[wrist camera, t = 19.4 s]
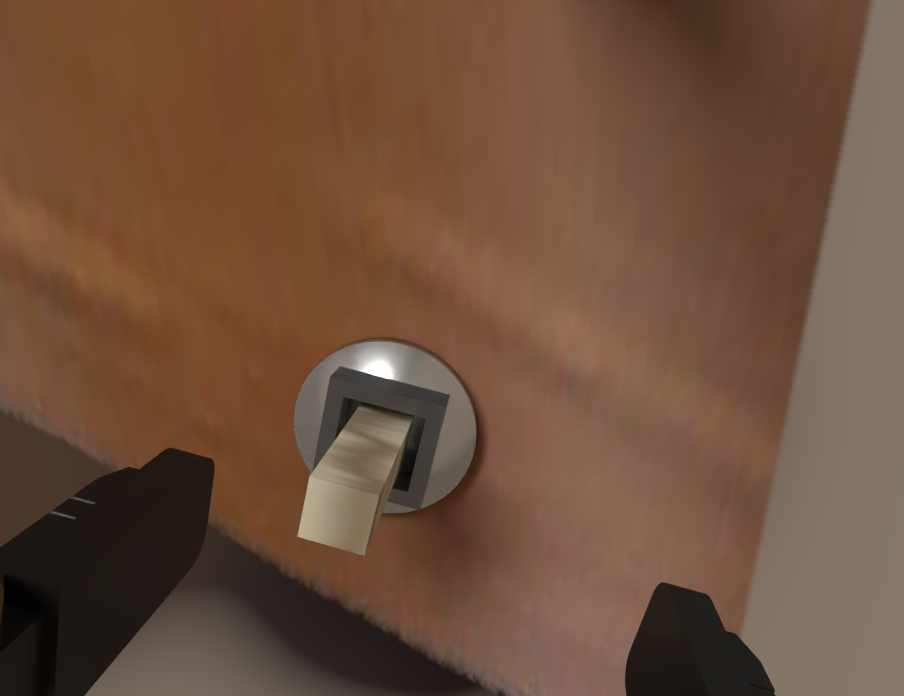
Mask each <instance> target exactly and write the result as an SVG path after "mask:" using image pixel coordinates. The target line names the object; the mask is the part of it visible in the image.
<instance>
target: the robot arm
mask: <svg viewBox="0 0 904 696" xmlns="http://www.w3.org/2000/svg"><path fill="white" fill-rule="evenodd" d="M213 478H214V462H213V460H212V459H211V458H207V457H204V456H200V455H196V454H192V453H189V452H185V451H181V450H178V449H174V448H168V449H166V450H164V451H163V452H161V453H160V454H159V455H158V456H156V457H155V458H154V459H152V460H151V461H150V462H148V463H147V464H146V465H144V466H143V467H142V468H141V469H135V468H132V467H128V468H125V469H122V470H119V471H116V472H114V473H111V474H108V475H105V476H102V477H100V478H97V479H96V480H94V481H93V482H92V483H90V484H89V485H87V486H86V487H85V488H83V489H82V490H81V491H79V492H78V493H76V494H75V495H74V496H73V498H72V499H68V500H66V501H65V502H64V503H62V504H61V505H59V506H58V507H56V508H55V509H54V510H53V512H52V514H47V515H45V516H44V517H42V518H41V519H40V520H38V521H37V522H36V523H34V524H33V525H31V526H30V527H28V528H27V529H25V530H24V531H23V532H21V533H20V534H19V535H17V536H16V537H14V538H13V539H12V540H10V541H9V542H7V543H6V544H4V545H3V546H2V547H0V696H84V695H85V694H86V693H87V692H88V690H89V689H90V688H91V687H92V686H93V685H94V683H95V682H96V681H97V680H98V679H99V677H100V676H101V675H102V674H103V673H104V671H105V670H106V669H107V668H108V667H109V666H110V664H111V663H112V662H113V661H114V660H115V658H116V657H117V656H118V655H119V654H120V652H121V651H122V650H123V649H124V648H125V647H126V645H127V644H128V643H129V642H130V641H131V639H132V638H133V637H134V636H135V635H136V633H137V632H138V631H139V630H140V628H141V627H142V626H143V625H144V624H145V623H146V622H147V620H148V619H149V618H150V617H151V616H152V614H153V613H154V612H155V611H156V610H157V608H158V607H159V606H160V605H161V604H162V603H163V601H164V600H165V599H166V598H167V596H168V595H169V594H170V593H171V591H173V589H174V588H175V587H176V586H177V585H178V584H179V582H180V581H181V580H182V579H183V578H184V576H185V575H186V574H187V573H188V571H189V570H190V569H191V568H192V566H193V565H194V563H195V561H196V560H197V558H198V556H199V554H200V551H201V549H202V546H203V543H204V540H205V536H206V531H207V523H208V516H209V508H210V501H211V493H212V486H213ZM625 687H626V695H627V696H775V695H774V691H775V690H774V688H773V686H772V684H771V682H770V680H769V678H768V676H767V674H766V672H765V670H764V668H763V666H762V664H761V662H760V661H759V659H758V658H757V657H756V656H755V655H754V654H753V653H752V652H751V650H750V649H749V648H748V647H747V646H746V645H745V644H744V643H743V641H742V640H741V639H740V638H739V637H738V636H737V635H736V634H735V633H731V632H728V631H725V628H724V626H723V624H722V622H721V620H720V618H719V615H718V613H717V611H716V609H715V607H714V604H713V602H712V600H711V598H710V597H709V596H708V595H707V594H705V593H701V592H697V591H694V590H690V589H686V588H682V587H679V586H675V585H671V584H668V583H663V582H662V583H660V584H659V585H658V586H657V587H656V589H655V590H654V593H653V595H652V597H651V600H650V602H649V605H648V607H647V610H646V612H645V615H644V617H643V620H642V622H641V625H640V627H639V629H638V632H637V634H636V637H635V639H634V642H633V644H632V647H631V649H630V652H629V655H628V659H627V664H626V673H625Z"/></svg>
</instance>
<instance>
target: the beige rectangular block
mask: <svg viewBox="0 0 904 696" xmlns="http://www.w3.org/2000/svg"><path fill="white" fill-rule="evenodd" d="M414 416H415V415H411V414H407V413H403V412H400V411H396V410H392V409H388V408H384V407H381V406H377V405H373V404H369V403H365V402H362V403H361V404H360V405H359V407H358V408H357V410H356V411H355V413H354V414H353V415H352V417H351V418H350V420H349V421H348V423H347V424H346V425H345V427H344V428H343V430H342V431H341V433H340V434H339V435H338V437H337V438H336V440H335V441H334V442H333V444H332V445H331V447H330V448H329V450H328V451H327V452H326V454H325V455H324V457H323V458H322V460H321V461H320V462H319V464H318V465H317V467H316V468H315V469H314V471H313V472H312V474H311V475H310V477H309V482H308V487H307V492H306V497H305V502H304V507H303V512H302V517H301V522H300V527H299V532H298V537H301V538H304V539H308V540H311V541H315V542H318V543H322V544H325V545H329V546H332V547H336V548H339V549H343V550H346V551H350V552H353V553H357V554H360V555H364V556H365V553H366V551H367V548H368V546H369V543H370V541H371V539H372V536H373V534H374V531H375V529H376V526H377V524H378V521H379V519H380V517H381V514H382V512H383V509H384V507H385V504H386V502H387V499H388V497H389V495H390V492H391V490H392V487H393V485H394V482H395V480H396V477H397V475H398V472H399V470H400V468H401V465H402V463H403V460H404V456H405V452H406V448H407V444H408V440H409V436H410V432H411V428H412V424H413V420H414Z"/></svg>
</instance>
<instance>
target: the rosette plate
mask: <svg viewBox="0 0 904 696" xmlns="http://www.w3.org/2000/svg"><path fill="white" fill-rule="evenodd" d="M362 402H365V403H369V404H373V405H377V406H381V407H384V408H388V409H392V410H396V411H400V412H403V413H407V414H411V415H415V416H414V420H413V424H412V428H411V432H410V436H409V440H408V444H407V448H406V452H405V456H404V460H403V463H402V465H401V468H400V470H399V472H398V475H397V477H396V480H395V482H394V485H393V487H392V490H391V492H390V495H389V497H388V499H387V502H386V504H385V507H384V509H383V512H382V513H405V512H411V511H415V510H421V509H422V508H425V507H427V506H429V505H432V504H434V503H435V502H437V501H439V500H441V499H442V498H443V497H445V496H446V495H447V494H449V493H450V492H451V491H452V490H453V489H454V488H455V487H456V486H457V485H458V484H459V482H460V481H461V479H462V478H463V477H464V475H465V474H466V472H467V470H468V468H469V466H470V463H471V461H472V458H473V455H474V450H475V445H476V438H477V418H476V412H475V408H474V404H473V401H472V398H471V396H470V393H469V391H468V389H467V387H466V386H465V384H464V382H463V381H462V379H461V378H460V377H459V375H458V374H457V373H456V372H455V370H454V369H453V368H452V367H451V366H450V365H449V364H448V363H447V362H445V361H444V360H443V359H442V358H441V357H439V356H438V355H436V354H435V353H433V352H431V351H430V350H428V349H426V348H424V347H422V346H420V345H418V344H415V343H412V342H408V341H405V340H400V339H395V338H369V339H364V340H359V341H356V342H353V343H350V344H347V345H345V346H343V347H341V348H339V349H337V350H336V351H334V352H333V353H331V354H330V355H328V356H327V357H326V358H325V359H324V360H323V361H322V362H321V363H320V364H319V365H317V366H316V367H315V368H314V369H313V371H312V372H311V373H310V374H309V376H308V377H307V379H306V380H305V382H304V384H303V385H302V387H301V390H300V392H299V395H298V397H297V401H296V406H295V413H294V431H295V436H296V441H297V445H298V448H299V451H300V453H301V455H302V458H303V460H304V462H305V463H306V465H307V467H308V468H309V470H310V471H311V473H312V472H313V471H314V469H315V468H316V467H317V465H318V464H319V462H320V461H321V460H322V458H323V457H324V455H325V454H326V452H327V451H328V450H329V448H330V447H331V445H332V444H333V442H334V441H335V440H336V438H337V437H338V435H339V434H340V433H341V431H342V430H343V428H344V427H345V425H346V424H347V423H348V421H349V420H350V418H351V417H352V415H353V414H354V413H355V411H356V410H357V408H358V407H359V405H360V404H361V403H362Z"/></svg>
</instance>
